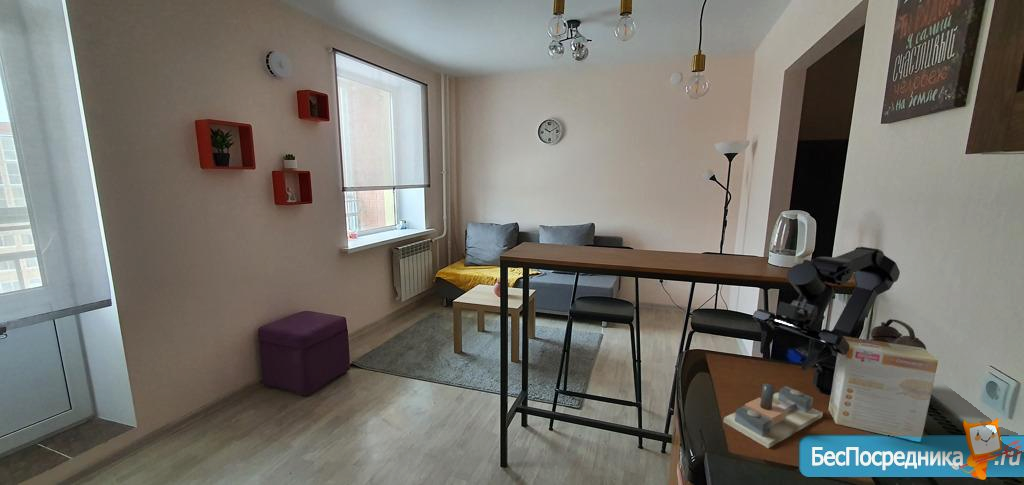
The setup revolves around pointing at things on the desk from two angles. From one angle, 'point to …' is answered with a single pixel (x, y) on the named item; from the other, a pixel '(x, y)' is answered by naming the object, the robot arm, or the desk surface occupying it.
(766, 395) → the carriage
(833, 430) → the desk surface
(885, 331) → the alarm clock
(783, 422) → the rail track
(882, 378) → the coffeecake box
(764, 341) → the robot arm
